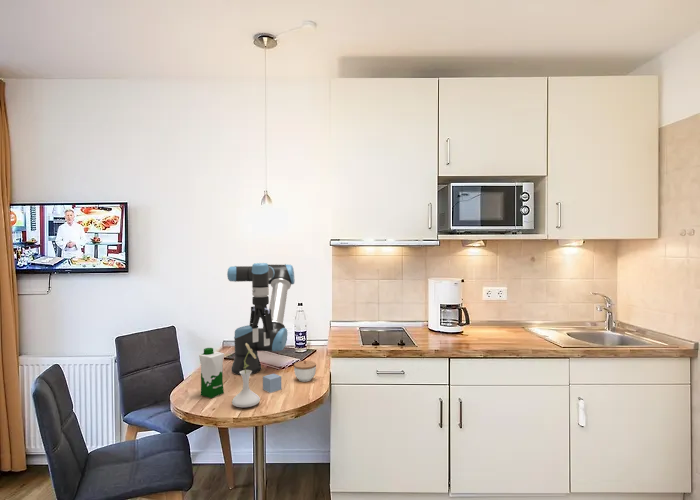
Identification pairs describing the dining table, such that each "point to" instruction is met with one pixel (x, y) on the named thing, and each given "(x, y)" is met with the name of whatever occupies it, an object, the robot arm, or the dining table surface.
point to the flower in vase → (246, 388)
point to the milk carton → (211, 373)
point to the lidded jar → (305, 370)
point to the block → (272, 383)
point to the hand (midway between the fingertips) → (261, 343)
